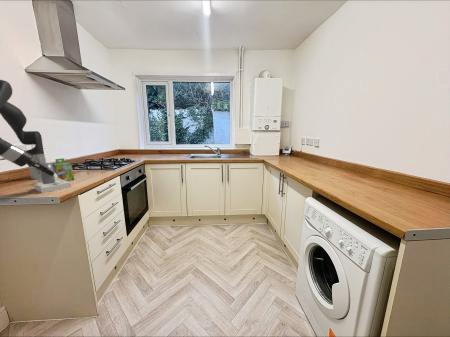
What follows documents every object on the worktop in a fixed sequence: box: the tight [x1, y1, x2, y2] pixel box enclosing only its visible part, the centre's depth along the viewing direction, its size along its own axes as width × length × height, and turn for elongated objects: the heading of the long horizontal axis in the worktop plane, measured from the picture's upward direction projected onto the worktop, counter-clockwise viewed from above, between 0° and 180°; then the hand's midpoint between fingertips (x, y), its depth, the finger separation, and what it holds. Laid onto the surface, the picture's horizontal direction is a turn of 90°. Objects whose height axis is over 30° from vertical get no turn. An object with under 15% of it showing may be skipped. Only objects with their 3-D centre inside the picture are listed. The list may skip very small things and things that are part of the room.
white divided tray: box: [33, 172, 72, 194], centre depth 112 cm, size 15×13×10 cm
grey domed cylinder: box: [40, 162, 55, 184], centre depth 109 cm, size 5×5×11 cm
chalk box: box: [52, 157, 75, 182], centre depth 130 cm, size 9×9×15 cm
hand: (51, 173), depth 111 cm, fingers closed on grey domed cylinder, 5 cm apart
